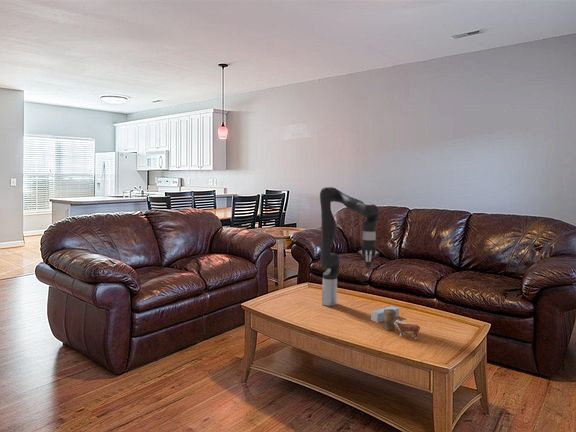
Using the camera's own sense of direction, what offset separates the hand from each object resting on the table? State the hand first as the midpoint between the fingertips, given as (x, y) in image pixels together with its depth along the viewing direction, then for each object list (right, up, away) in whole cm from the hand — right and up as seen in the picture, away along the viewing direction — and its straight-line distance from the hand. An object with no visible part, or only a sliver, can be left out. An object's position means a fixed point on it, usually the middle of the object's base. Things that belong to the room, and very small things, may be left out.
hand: (368, 267), depth 246 cm
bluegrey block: (+2, -27, -8) cm, 28 cm away
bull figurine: (+14, -32, -30) cm, 46 cm away
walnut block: (+8, -31, -19) cm, 37 cm away
